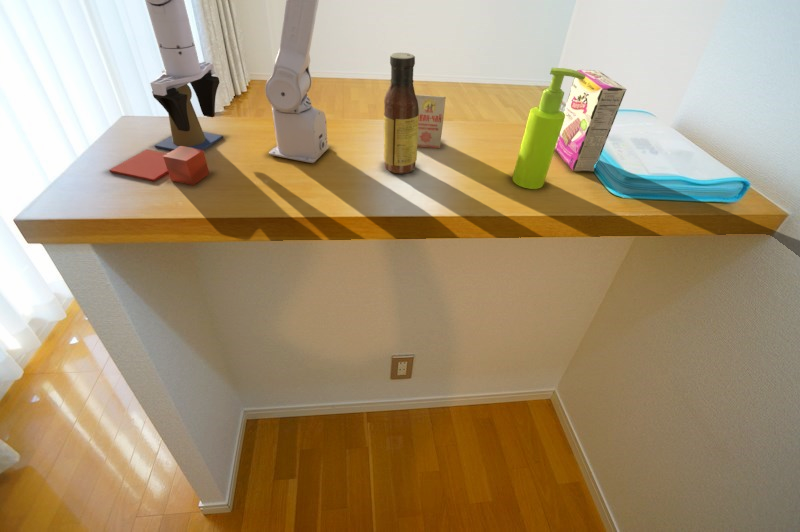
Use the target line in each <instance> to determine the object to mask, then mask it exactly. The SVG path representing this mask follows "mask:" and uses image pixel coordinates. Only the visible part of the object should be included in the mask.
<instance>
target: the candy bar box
mask: <svg viewBox="0 0 800 532" xmlns="http://www.w3.org/2000/svg"><path fill="white" fill-rule="evenodd" d="M576 71H578V72H580V73H582V74H584V75H585V79H583V80H580V79H578V78H575V77H573V81H572V85H571V87H570V91H569V94H568V98H567V101H566V104H565V108H564V111H563V113H564V114H565V119H564V122H563V125H562V128H561V132H560V135H559V138H558V141H557V144H556V147H555V150H554V152H556V154H558V156H559V157H560V158H561V159H562V160H563V161H564V163H565V164H566V165H567V167H569V168H570V170H571V171H572V172H576V173H583V172H584V173H585V172H589V173H590V172H591V173H592V172H595V171H596V168H594V165H595V164H596V162H597V161H598V159H599V160H600V158H601V155H602V153H603V150H604V148H605V145H606V142H607V140H608V138H609V134H610V132H611V129H612V128H613V125H614V122H615V119H616V117H617V115H618V112H619V110H620V107H621V104H622V101H623V99H624V97H625V94H626V92H627V88H626V87H624V86H623V85H621V84H619V83H618V82H617V81H615V80H613V78H610V77H609V76H607V75H606V74H604V72H602V71H600V70H595V69H594V70H592V69H577V70H576ZM598 162H599V161H598Z"/></svg>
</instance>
